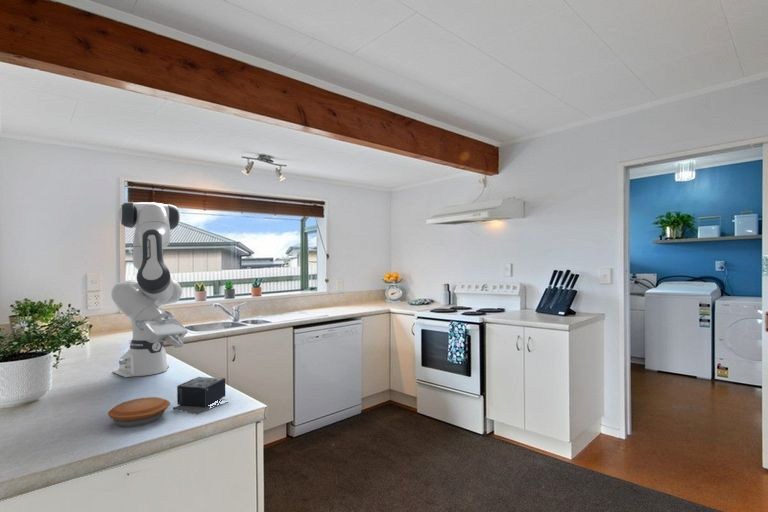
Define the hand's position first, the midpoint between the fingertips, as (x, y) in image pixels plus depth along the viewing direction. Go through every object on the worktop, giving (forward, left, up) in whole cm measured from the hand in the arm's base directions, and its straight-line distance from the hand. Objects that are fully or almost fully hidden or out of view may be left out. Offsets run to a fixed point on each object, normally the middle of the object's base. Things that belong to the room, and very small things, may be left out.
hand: (180, 346), depth 140 cm
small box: (+7, -3, -13) cm, 16 cm away
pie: (+9, -20, -17) cm, 28 cm away
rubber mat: (+15, -3, -17) cm, 23 cm away
